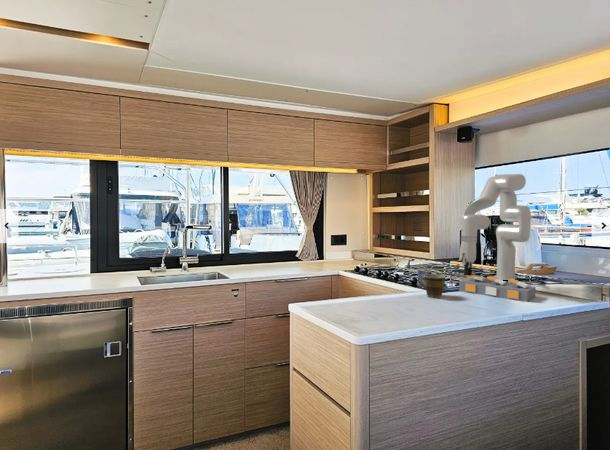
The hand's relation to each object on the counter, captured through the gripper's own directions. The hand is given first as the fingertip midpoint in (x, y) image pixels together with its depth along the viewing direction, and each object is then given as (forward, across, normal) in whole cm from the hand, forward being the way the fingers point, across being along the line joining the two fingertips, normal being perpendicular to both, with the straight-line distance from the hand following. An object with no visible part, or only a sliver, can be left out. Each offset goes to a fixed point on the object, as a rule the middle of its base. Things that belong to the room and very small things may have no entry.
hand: (467, 275), depth 217 cm
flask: (+8, +10, -19) cm, 23 cm away
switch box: (+8, -1, +14) cm, 16 cm away
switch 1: (+1, -1, +4) cm, 4 cm away
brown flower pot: (+8, +25, -6) cm, 28 cm away
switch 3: (+1, -1, +24) cm, 24 cm away
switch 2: (+1, -1, +14) cm, 14 cm away
